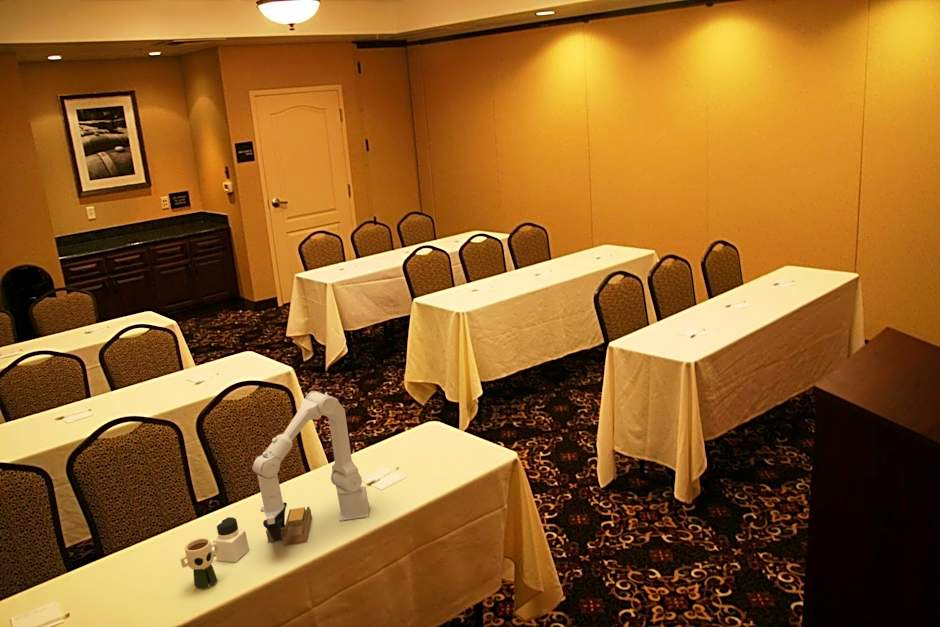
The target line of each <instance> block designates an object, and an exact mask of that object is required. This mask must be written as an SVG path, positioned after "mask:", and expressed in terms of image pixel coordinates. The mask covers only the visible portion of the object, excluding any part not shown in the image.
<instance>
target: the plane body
mask: <svg viewBox="0 0 940 627" xmlns="http://www.w3.org/2000/svg"><path fill="white" fill-rule="evenodd" d="M291 509H292V508H290V509H289V511H288V513H287V517H286V520H285V526H284V528H281V540H279V541H278V542H281V541H283V546H285V547H286V546H293V545H297V544H298V545H299V544H304V543H308V539H309V538H308V537H309V533H310V528H311V525H312V524H311V523H312V518H313V516H312V510H311V508H310V506H307V507H306V509H305V510H306V514H305V518H304V523H303V525H298V526H292V527H289V523H288V520H289V516H290V513H291ZM265 534H266V538H267V543H270V539H269V533H268V530H267V529H266V530H265ZM273 541H274V540H273ZM274 542H275V543H276V542H277V541H274ZM270 544H271V543H270Z"/></svg>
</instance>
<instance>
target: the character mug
mask: <svg viewBox="0 0 940 627" xmlns="http://www.w3.org/2000/svg"><path fill="white" fill-rule="evenodd" d="M213 548H215V549H214V550H213ZM184 552H185V555H184V556H181V557H180V562H181V563H180V565H181V567H182V568H183V569H184V568H186V567H189V569H191V570H193V583H194V586H195V587H196V588H197V589H199V590H200V589H203V590H204V589H209V587H210V586H209V585H210V584H211V586H213V585H215V583H217V581H218V578H217V575H216V572H215V570H214V567H213V564H212V563H213V562H214V559H215V556H214V555H216V553H217V552H218V546H217V543H216V542H214V543H213V542H212V543H211V540H210V538H206V537H201V538H196V539H193V540H190V541H188V542H187V544H186V545H185V546H184ZM185 560H186V561H187V562H185Z"/></svg>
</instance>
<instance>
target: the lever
mask: <svg viewBox="0 0 940 627" xmlns="http://www.w3.org/2000/svg"><path fill="white" fill-rule="evenodd" d="M265 520H267V518H266V519H265ZM268 533H269V531H268ZM269 539H270V544H272V543H274V541H273V539H272V537H271V534H270V533H269Z"/></svg>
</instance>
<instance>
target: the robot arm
mask: <svg viewBox="0 0 940 627" xmlns="http://www.w3.org/2000/svg"><path fill="white" fill-rule="evenodd" d="M321 415H322V416H325V417H327V418H328V423H329V430H330V438H331V445H332V450H333V459H334V463H333V464H332V466H331V471H332V472H331V476H330V481H331V484H333V485H334V486H335V488H336V493H337V499H338V503H339V508H340V509H339V510H340V512H339V519H338V520H339V522H341V521H342V522H343V521H349V520H357V519H361V518H368V517H369V516H370V515H369V514H370V503H369V497H368V491H367V487H366V486H362V483H363V479H362V476H361V474H360V473H359V469H358V468H359V467H357V465H356V464H355V463H354V462H353V459H352V452H351V445H350V438H349V432H348V424H347V423H348V422H347V416H346V411H345V408H344V407H343V405H342V404H341V403H340V402H339V399H338V398H336V397H334V396H331V395H327V394H324V393H323V392H320V391H317V390H312V391H310V392H309V393H307V394H306V396H305V397H304V399H302V401H301V403H300V407H299V409H298V410H297V412H296V414H295V415H294V417H293V418H292V419H291V421H290V423H288V426H287V427H286V429H285V430H284V432H283V433H280V434H277V435H276V436H275V437H273V438H272V440H271V441H272V442H271V443H270V444H269V446H268V447H267V448H266V449H265V450H264V451H263V452H262V453H261V454H262V455H258V456H257V457H256V458H255V460H254V461H253V464H252V467H251V469H252V471H253V472H254V473H255V474H256V476H257V480H258V485H259V489H260V494H261V499H262V505H263V506H261V507H260V509H259V510H260V513H264V515H265V517H266V519H267V520H266V519H264V520H263V522H262V524H263V527H265V529H266V530H268V531H269V533H270V534H271V537H272V539H273V540H274V541H276V542H280V541H279V540H281V528H284V526H285V524H286V519H285V518H286V515H285V514H286V508H287V505H288V504H287V502H284V501H283V497H282V492H281V491H282V490H281V486H280V481H279V477H278V473H279V471H280V467H281V466H280V465H281V464H282V461H283V460H284V458H285V457H286V456H287V455H288V453H289V451H291V449H292V448H293V441H294V439H295V437H297V435H298V434H299V433H300V432H301V431H302V430H303V428H304V427H305V425H307V423H308V422H309V421H312V420H317V419H321V418H322V416H321Z"/></svg>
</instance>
